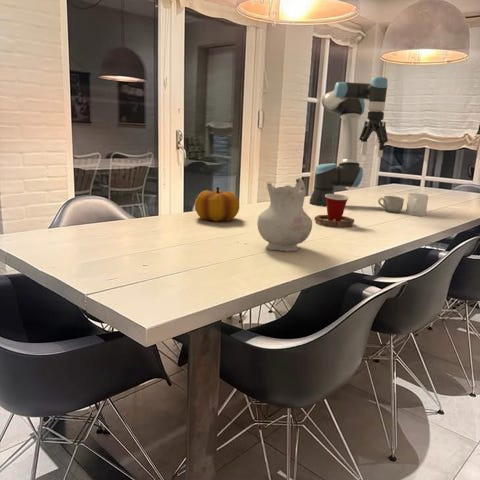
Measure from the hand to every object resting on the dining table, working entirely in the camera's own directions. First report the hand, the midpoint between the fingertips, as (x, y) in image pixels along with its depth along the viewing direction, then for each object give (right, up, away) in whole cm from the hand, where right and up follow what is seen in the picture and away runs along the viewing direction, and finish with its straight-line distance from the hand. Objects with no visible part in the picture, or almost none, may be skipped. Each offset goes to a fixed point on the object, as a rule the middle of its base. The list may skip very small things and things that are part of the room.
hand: (371, 156), depth 235 cm
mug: (+31, -27, +25) cm, 48 cm away
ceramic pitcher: (-48, -44, -61) cm, 89 cm away
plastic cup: (-21, -33, -13) cm, 41 cm away
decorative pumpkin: (-75, -32, -15) cm, 83 cm away
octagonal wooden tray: (-21, -34, -13) cm, 42 cm away
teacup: (+18, -26, +30) cm, 43 cm away
